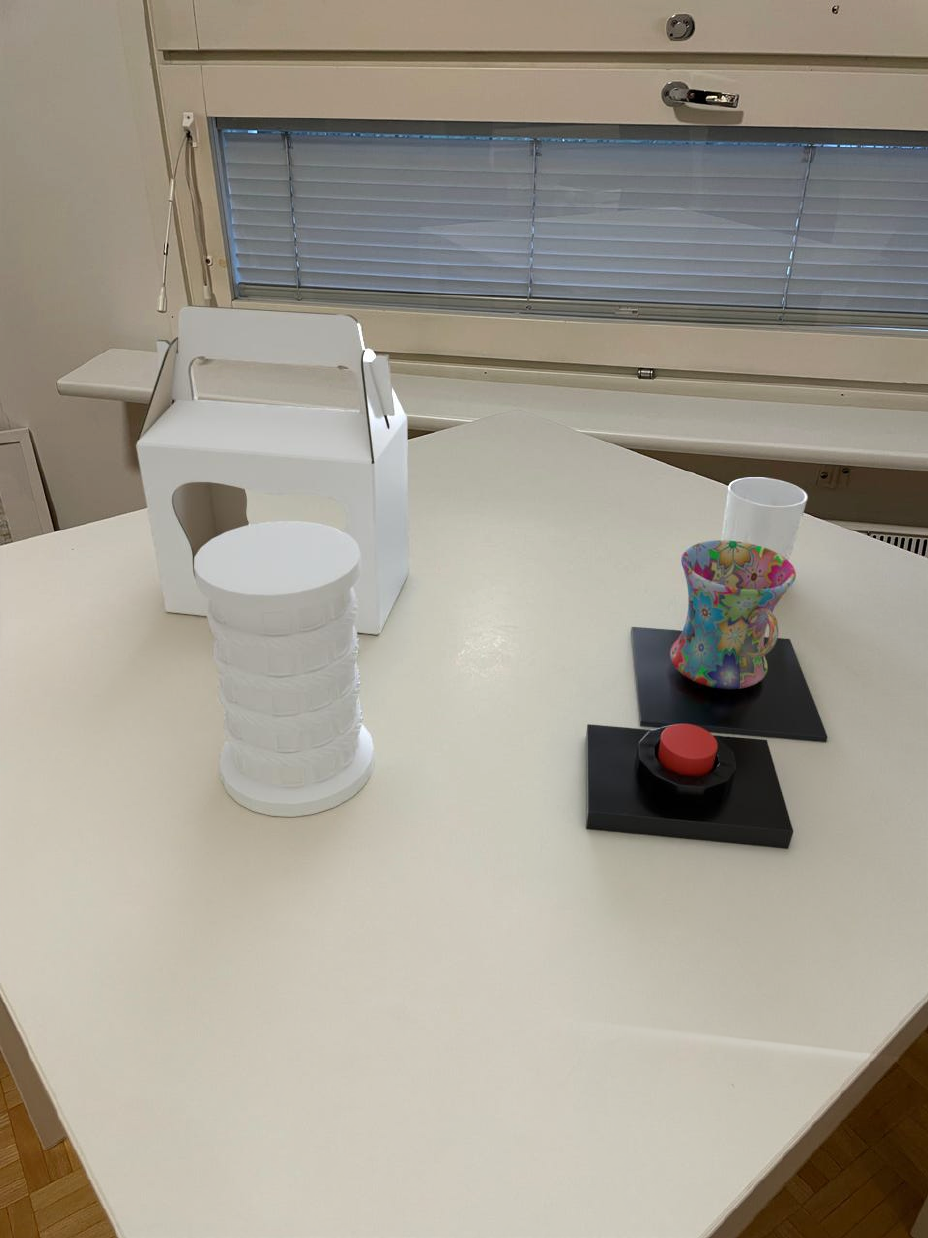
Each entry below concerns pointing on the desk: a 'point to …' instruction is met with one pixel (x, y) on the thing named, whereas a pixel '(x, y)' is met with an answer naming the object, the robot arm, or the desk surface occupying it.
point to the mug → (730, 612)
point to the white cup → (764, 513)
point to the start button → (687, 750)
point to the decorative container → (287, 665)
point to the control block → (683, 790)
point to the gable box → (273, 449)
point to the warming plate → (724, 694)
